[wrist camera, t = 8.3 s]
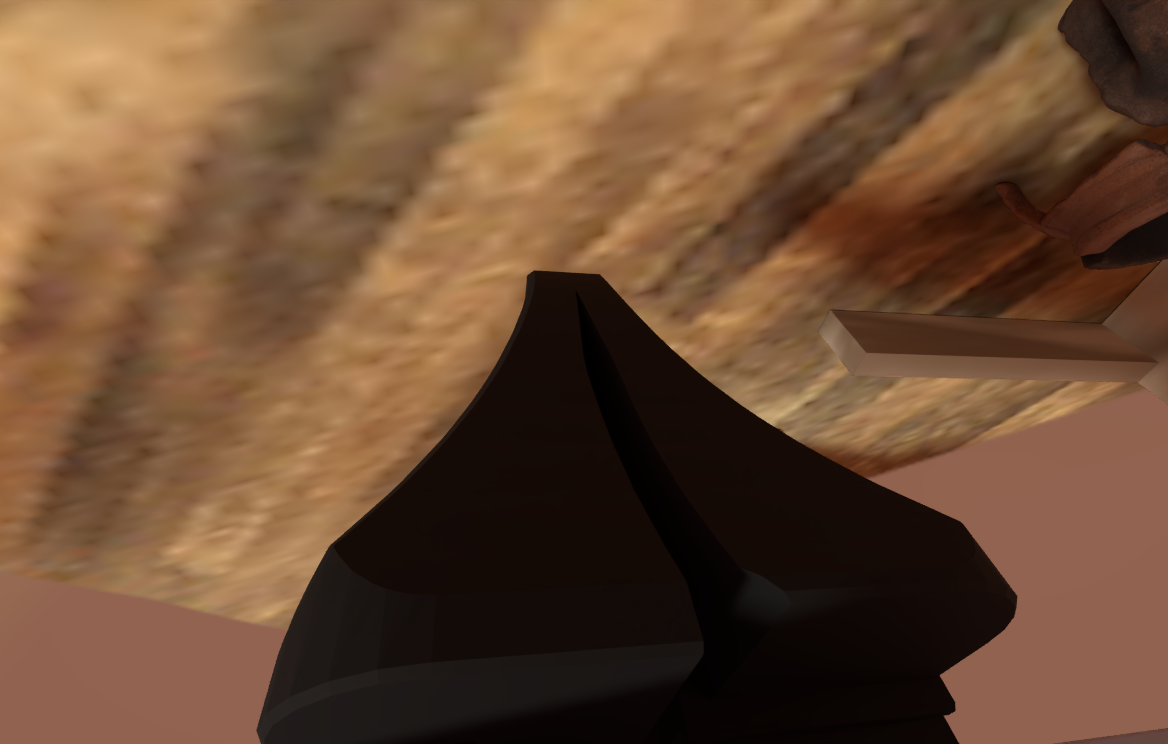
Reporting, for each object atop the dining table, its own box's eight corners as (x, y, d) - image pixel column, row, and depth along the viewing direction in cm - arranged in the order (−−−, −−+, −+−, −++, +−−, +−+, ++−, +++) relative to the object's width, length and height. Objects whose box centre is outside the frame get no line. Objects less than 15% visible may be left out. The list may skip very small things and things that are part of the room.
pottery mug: (1356, -67, 16) (1537, 147, 14) (1008, 138, 24) (1085, 301, 21) (1314, -373, 10) (1634, -80, 8) (858, 37, 18) (943, 253, 15)
